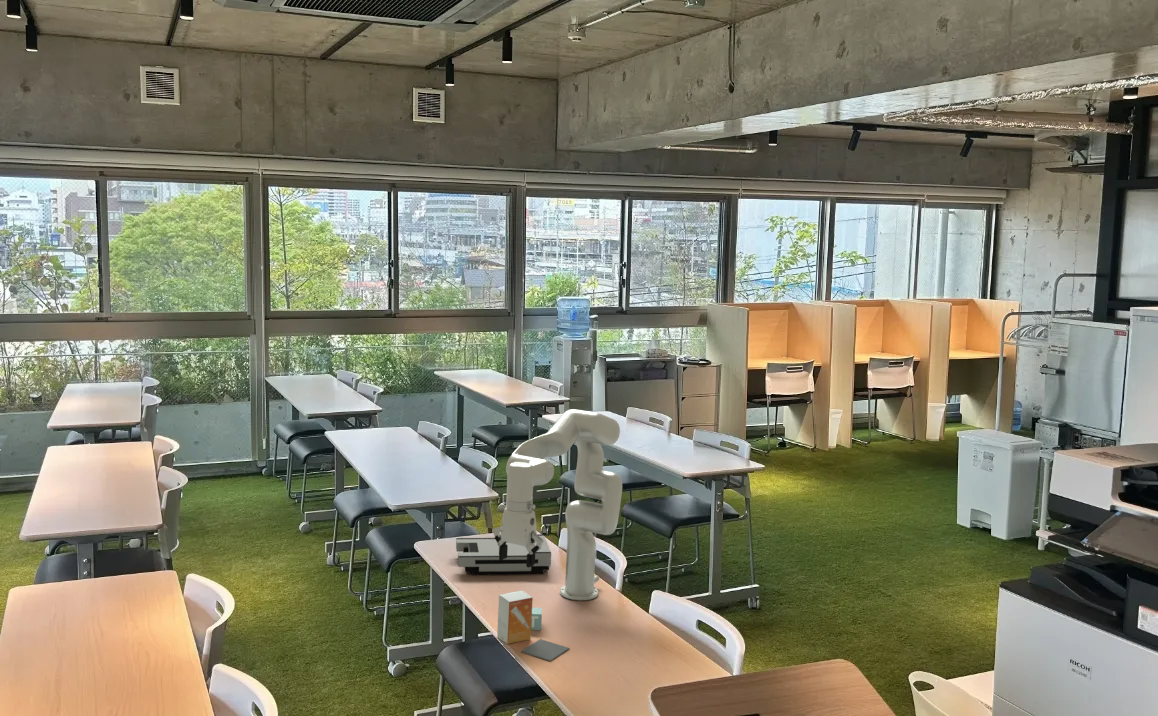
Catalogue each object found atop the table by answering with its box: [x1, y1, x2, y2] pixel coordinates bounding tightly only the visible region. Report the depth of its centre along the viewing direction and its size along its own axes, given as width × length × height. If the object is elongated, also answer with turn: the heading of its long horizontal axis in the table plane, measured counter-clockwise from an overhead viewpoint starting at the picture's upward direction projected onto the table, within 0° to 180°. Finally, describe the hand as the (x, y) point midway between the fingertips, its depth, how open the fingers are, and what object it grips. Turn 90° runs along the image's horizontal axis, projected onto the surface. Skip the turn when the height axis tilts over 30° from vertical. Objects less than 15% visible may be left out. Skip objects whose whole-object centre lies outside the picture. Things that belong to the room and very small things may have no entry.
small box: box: [496, 590, 534, 645], centre depth 281 cm, size 8×6×13 cm
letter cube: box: [531, 607, 543, 631], centre depth 290 cm, size 5×5×5 cm
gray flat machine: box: [455, 533, 552, 576], centre depth 342 cm, size 21×32×8 cm, turn 99°
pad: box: [520, 638, 570, 662], centre depth 274 cm, size 10×10×1 cm
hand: (516, 562), depth 278 cm, fingers open, 9 cm apart
